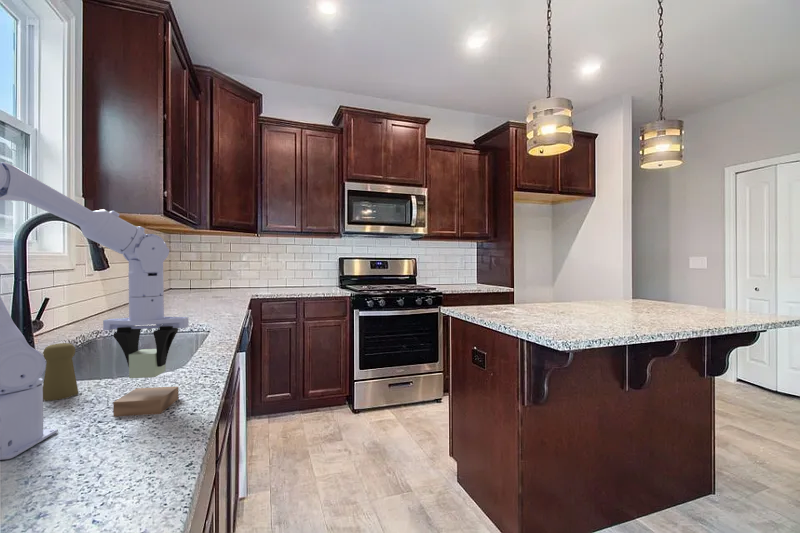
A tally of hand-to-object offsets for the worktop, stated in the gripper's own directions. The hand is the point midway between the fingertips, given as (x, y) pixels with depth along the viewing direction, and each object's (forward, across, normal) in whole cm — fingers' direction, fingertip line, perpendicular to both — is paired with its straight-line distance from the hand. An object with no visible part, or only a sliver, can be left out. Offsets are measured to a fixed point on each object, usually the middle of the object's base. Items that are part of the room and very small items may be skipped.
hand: (147, 365), depth 76 cm
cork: (+8, +22, -10) cm, 26 cm away
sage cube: (+2, 0, 0) cm, 2 cm away
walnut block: (+8, 0, 0) cm, 8 cm away
